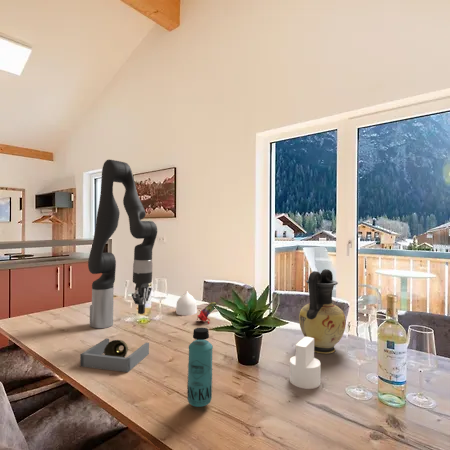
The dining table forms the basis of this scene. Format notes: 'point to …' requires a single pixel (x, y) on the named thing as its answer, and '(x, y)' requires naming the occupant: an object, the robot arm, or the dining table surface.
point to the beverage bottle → (200, 369)
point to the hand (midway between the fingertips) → (141, 313)
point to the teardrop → (186, 305)
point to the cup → (116, 348)
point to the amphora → (322, 313)
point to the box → (112, 358)
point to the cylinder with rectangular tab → (305, 365)
